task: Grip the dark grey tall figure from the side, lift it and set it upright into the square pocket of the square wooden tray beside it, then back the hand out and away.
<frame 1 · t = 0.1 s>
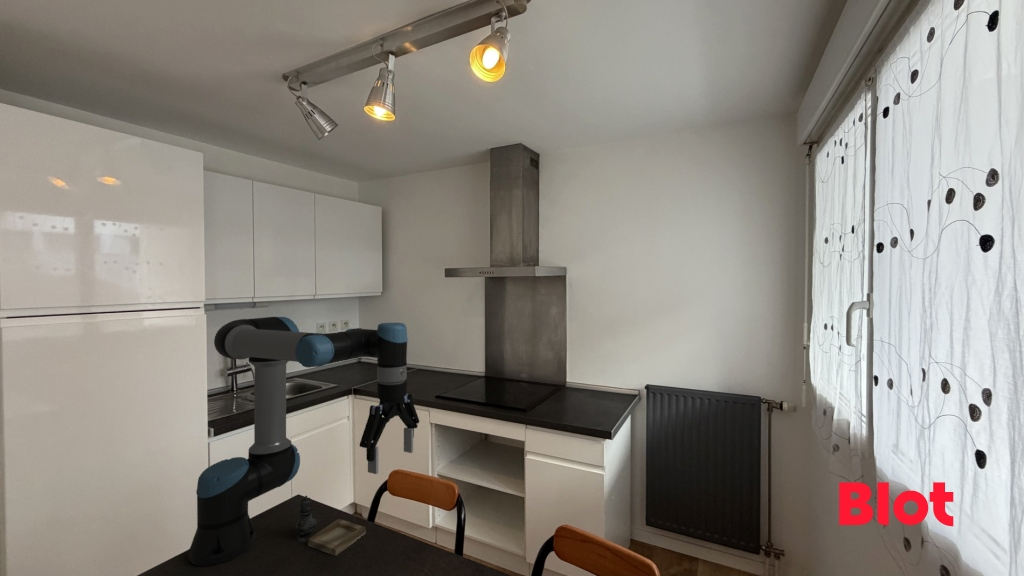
hand: (391, 461, 103), 28 cm above the table, tool pointing down, fingers open, 13 cm apart
dark grey tall figure: (306, 536, 117), on the table
square wooden tray: (337, 539, 115), on the table
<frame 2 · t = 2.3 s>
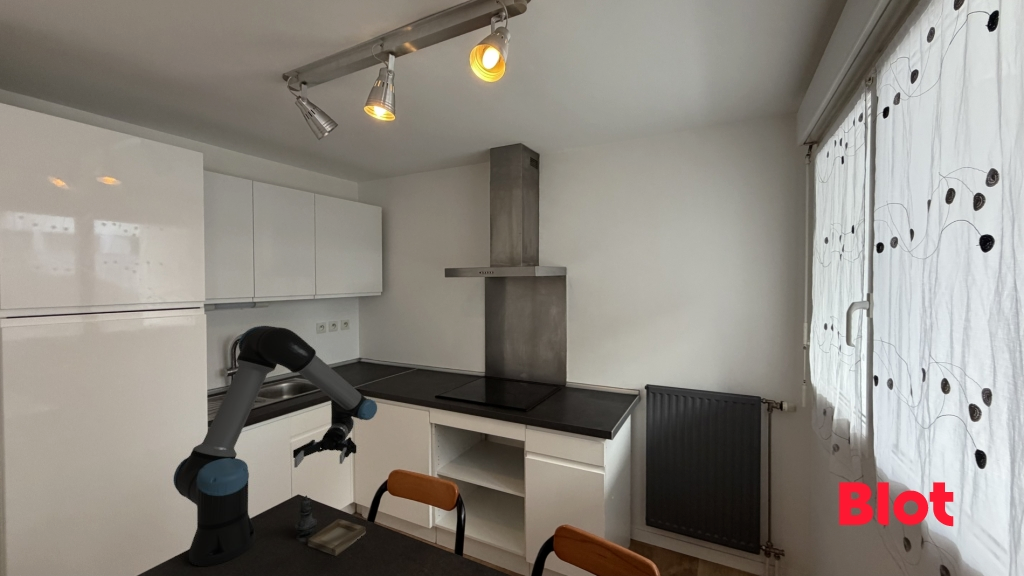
hand: (318, 461, 126), 18 cm above the table, tool horizontal, fingers open, 13 cm apart
nothing on the table moved.
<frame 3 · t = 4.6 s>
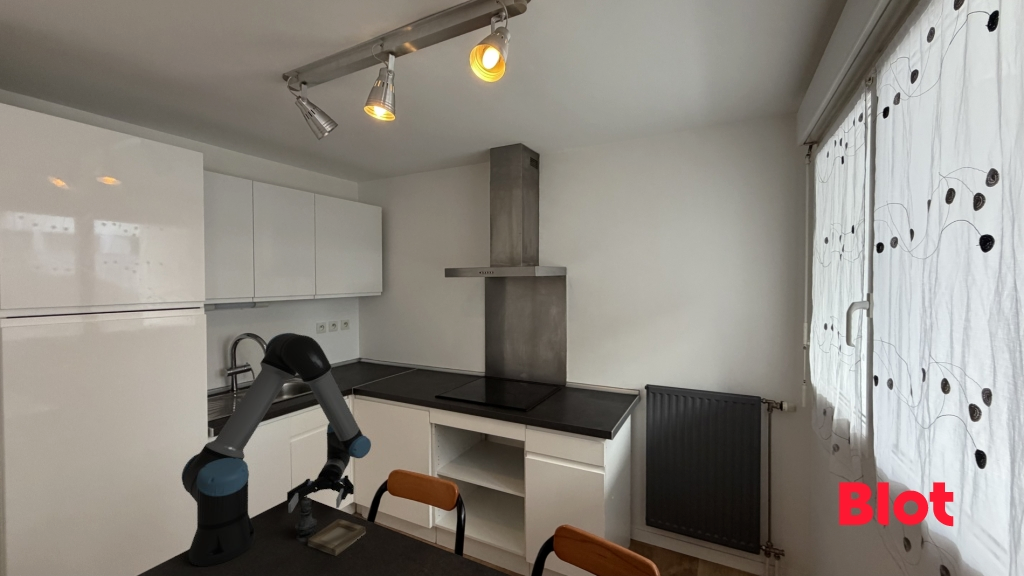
hand: (313, 506, 120), 7 cm above the table, tool horizontal, fingers open, 13 cm apart
nothing on the table moved.
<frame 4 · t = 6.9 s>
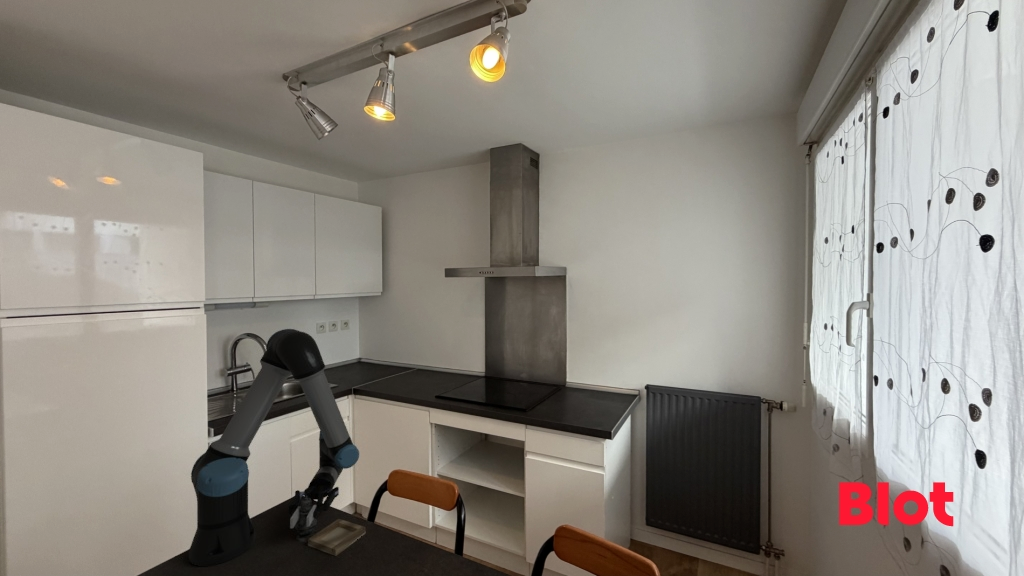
hand: (299, 522, 111), 7 cm above the table, tool horizontal, fingers closed on dark grey tall figure, 4 cm apart
dark grey tall figure: (306, 536, 117), on the table, touching gripper
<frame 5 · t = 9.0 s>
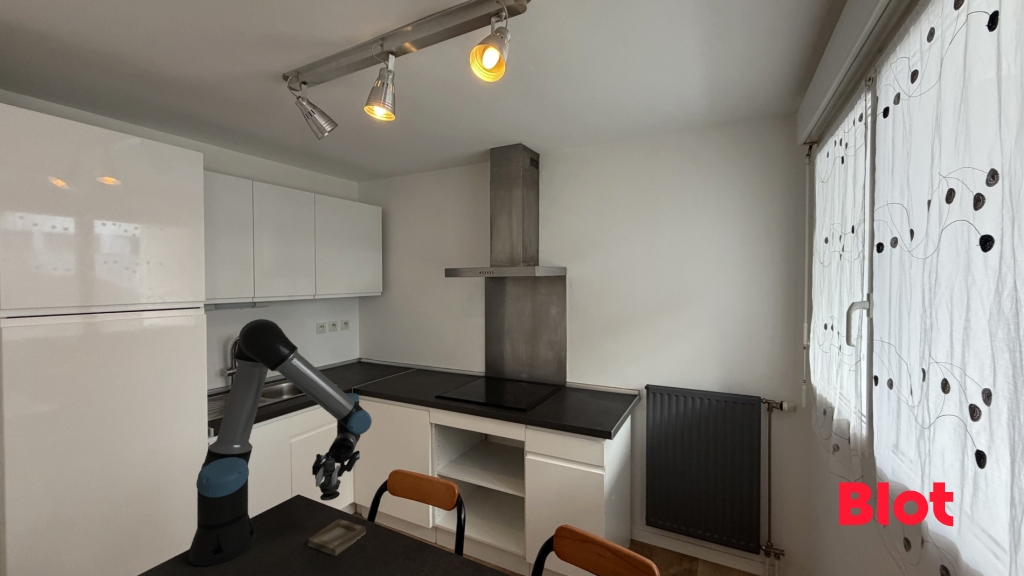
hand: (325, 480, 111), 19 cm above the table, tool horizontal, fingers closed on dark grey tall figure, 4 cm apart
dark grey tall figure: (330, 496, 116), point 12 cm above the table, touching gripper
when the fingers open (9 cm above the table, at t = 11.4 s): dark grey tall figure drops 1 cm, resting on square wooden tray.
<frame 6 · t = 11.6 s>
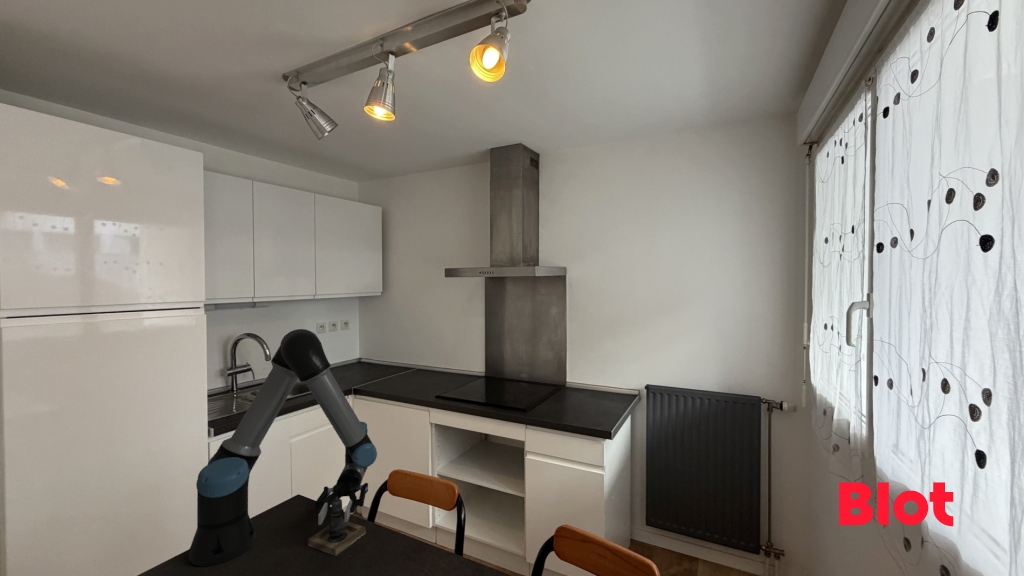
hand: (332, 518, 110), 9 cm above the table, tool horizontal, fingers open, 6 cm apart
dark grey tall figure: (337, 537, 115), resting on square wooden tray
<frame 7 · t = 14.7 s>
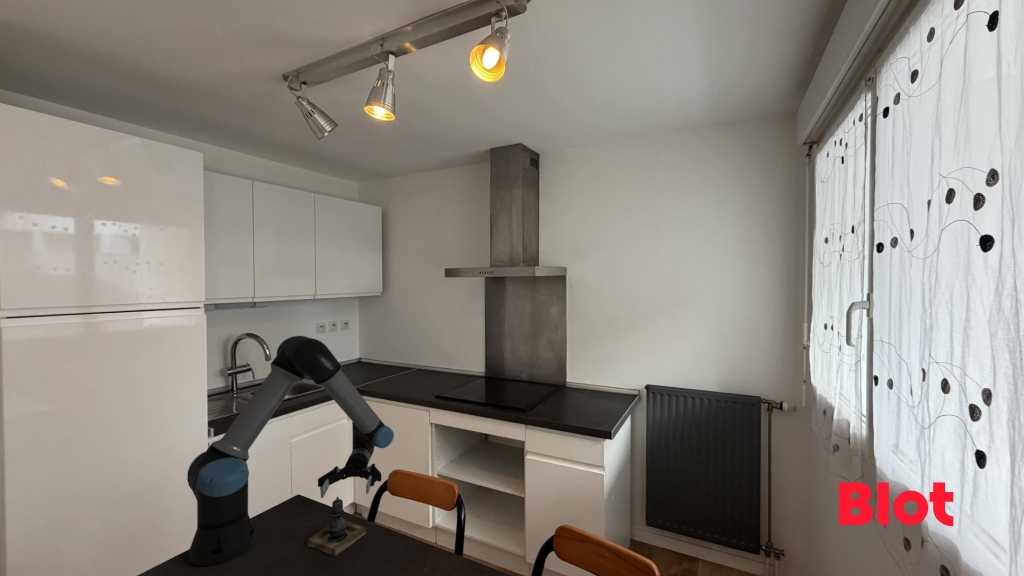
hand: (344, 491, 124), 9 cm above the table, tool horizontal, fingers open, 13 cm apart
nothing on the table moved.
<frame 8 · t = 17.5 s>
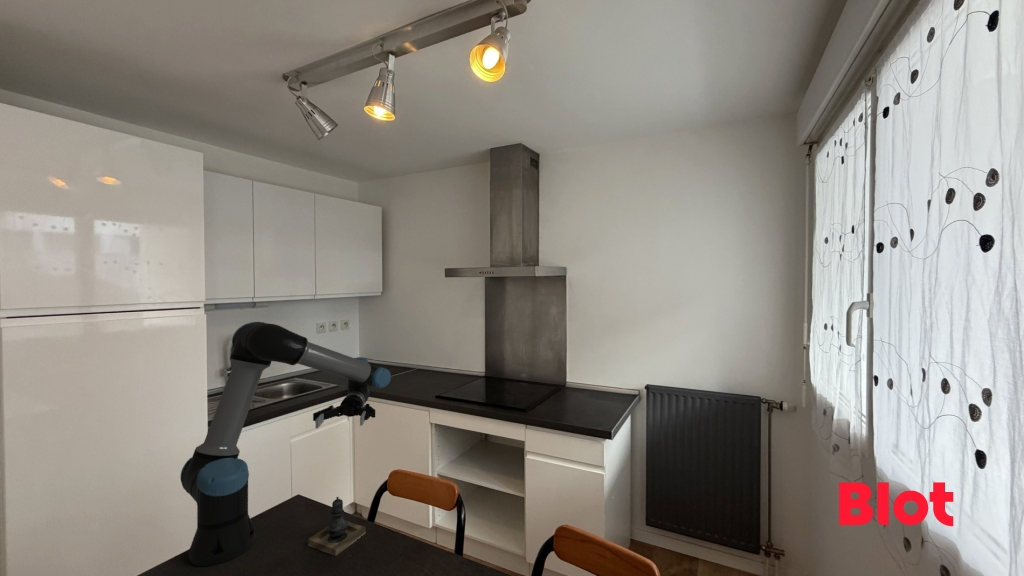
hand: (339, 422, 127), 30 cm above the table, tool horizontal, fingers open, 13 cm apart
nothing on the table moved.
at the end: dark grey tall figure 0.0 cm off-centre on the square wooden tray, point 0.3 cm above the square wooden tray's base; dark grey tall figure tilted 0°; the gripper is holding nothing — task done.
